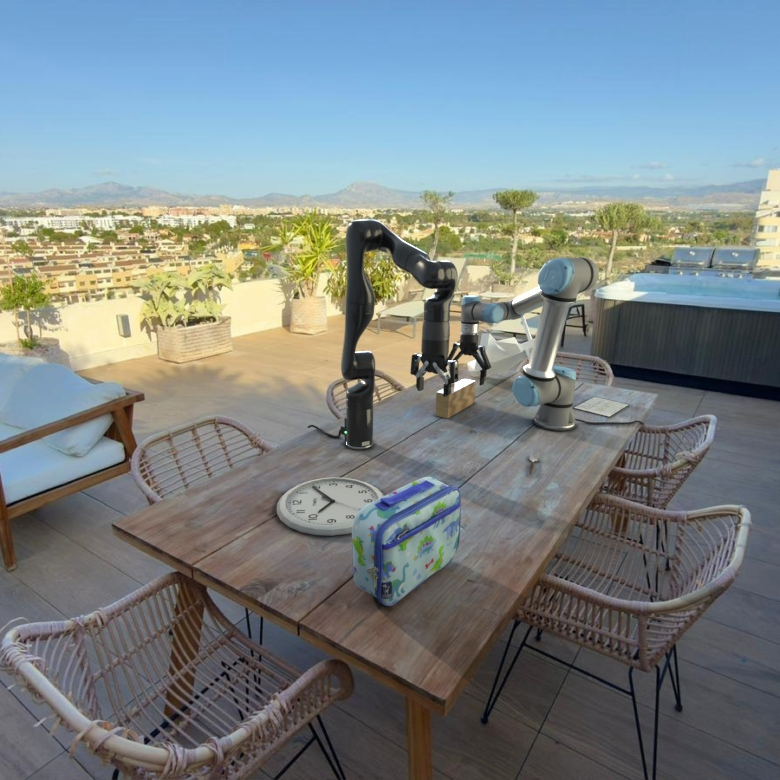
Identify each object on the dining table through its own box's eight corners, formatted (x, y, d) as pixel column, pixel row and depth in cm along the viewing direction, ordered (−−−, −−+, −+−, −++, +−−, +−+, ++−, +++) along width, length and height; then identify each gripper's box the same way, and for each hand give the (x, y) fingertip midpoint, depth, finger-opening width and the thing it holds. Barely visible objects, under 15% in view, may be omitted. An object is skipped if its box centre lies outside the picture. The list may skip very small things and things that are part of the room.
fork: (525, 475, 162) (525, 469, 161) (530, 455, 176) (531, 449, 176) (534, 476, 161) (534, 470, 161) (538, 456, 175) (539, 450, 175)
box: (462, 400, 232) (463, 378, 229) (474, 402, 229) (475, 380, 226) (435, 415, 212) (436, 392, 209) (447, 418, 209) (449, 394, 206)
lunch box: (381, 619, 101) (382, 525, 95) (345, 592, 109) (344, 503, 102) (464, 563, 119) (469, 480, 113) (428, 543, 126) (432, 464, 120)
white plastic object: (487, 418, 267) (468, 395, 242) (469, 346, 289) (449, 318, 264) (558, 394, 255) (545, 368, 230) (533, 321, 277) (518, 289, 252)
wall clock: (392, 527, 129) (268, 531, 127) (391, 533, 130) (269, 537, 127) (383, 473, 158) (282, 475, 155) (383, 478, 158) (282, 480, 156)
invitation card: (608, 416, 214) (573, 407, 224) (608, 416, 214) (573, 408, 224) (628, 404, 229) (594, 396, 238) (628, 405, 229) (594, 397, 238)
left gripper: (406, 335, 143) (404, 391, 148) (451, 342, 135) (448, 401, 140) (421, 331, 149) (419, 385, 154) (465, 338, 141) (462, 395, 146)
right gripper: (438, 331, 222) (437, 379, 228) (493, 337, 209) (490, 388, 215) (447, 329, 228) (445, 376, 234) (500, 334, 215) (497, 384, 221)
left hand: (433, 393), depth 147 cm, fingers open, 8 cm apart
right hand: (467, 382), depth 224 cm, fingers open, 13 cm apart
